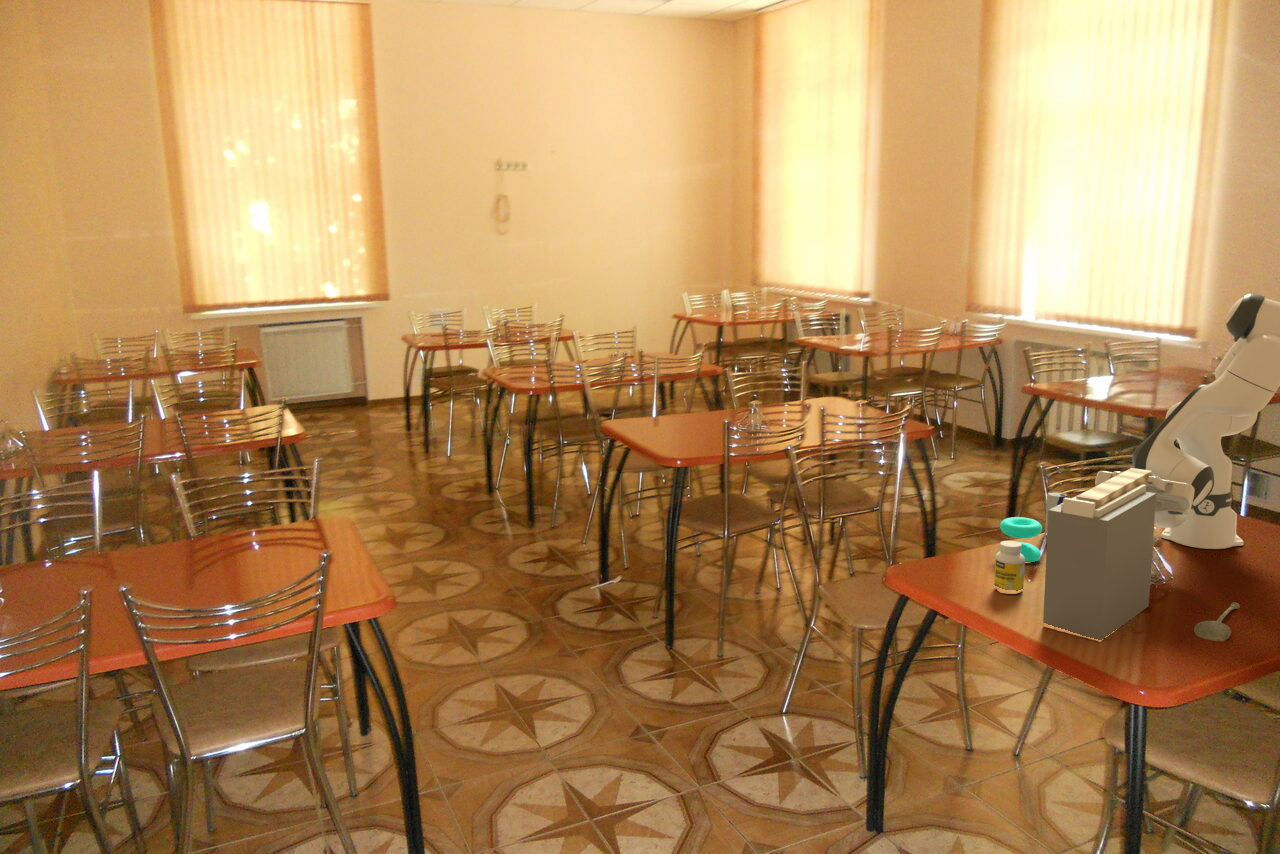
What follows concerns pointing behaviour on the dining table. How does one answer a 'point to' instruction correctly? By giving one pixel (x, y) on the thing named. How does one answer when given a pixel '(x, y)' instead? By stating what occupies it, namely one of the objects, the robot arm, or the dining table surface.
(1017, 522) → the donuts
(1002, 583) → the pill bottle
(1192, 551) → the dining table surface
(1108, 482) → the wooden bar
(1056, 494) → the energy drink
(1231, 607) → the soupspoon
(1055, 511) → the gray open box
